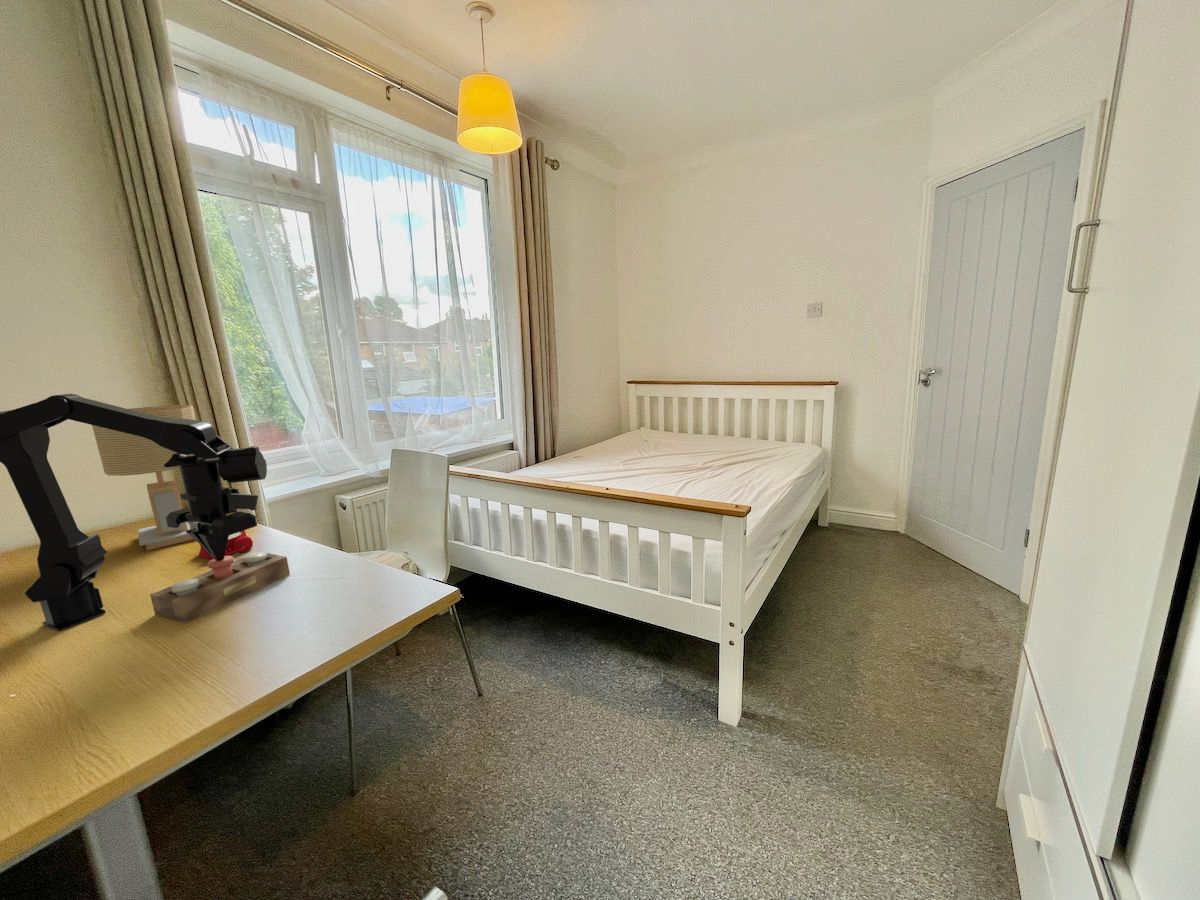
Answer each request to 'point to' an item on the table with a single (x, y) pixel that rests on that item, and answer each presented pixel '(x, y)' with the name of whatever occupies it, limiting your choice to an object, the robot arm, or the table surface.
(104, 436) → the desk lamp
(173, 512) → the robot arm
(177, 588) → the left plug
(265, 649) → the table surface
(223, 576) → the red plug
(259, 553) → the right plug
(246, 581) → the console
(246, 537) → the alarm clock
